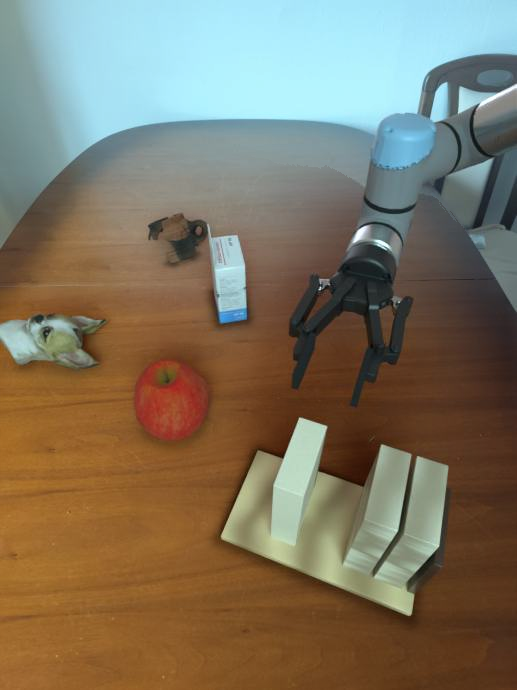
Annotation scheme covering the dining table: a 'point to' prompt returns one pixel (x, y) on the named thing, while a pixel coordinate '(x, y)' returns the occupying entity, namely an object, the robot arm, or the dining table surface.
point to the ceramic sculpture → (50, 339)
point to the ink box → (228, 277)
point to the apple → (171, 400)
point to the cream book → (296, 480)
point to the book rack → (355, 526)
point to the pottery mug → (179, 235)
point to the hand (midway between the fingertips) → (324, 390)
